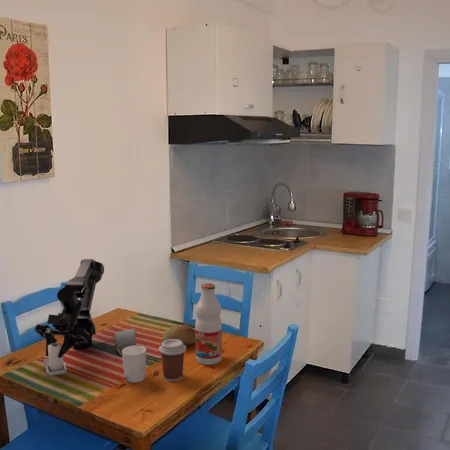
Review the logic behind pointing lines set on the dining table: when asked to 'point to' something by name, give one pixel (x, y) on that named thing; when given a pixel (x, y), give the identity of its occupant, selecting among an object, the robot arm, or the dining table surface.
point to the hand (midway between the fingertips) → (52, 356)
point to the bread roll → (180, 334)
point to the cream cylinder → (55, 357)
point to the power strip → (46, 363)
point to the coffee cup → (172, 359)
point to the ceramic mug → (124, 339)
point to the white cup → (134, 363)
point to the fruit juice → (208, 327)
